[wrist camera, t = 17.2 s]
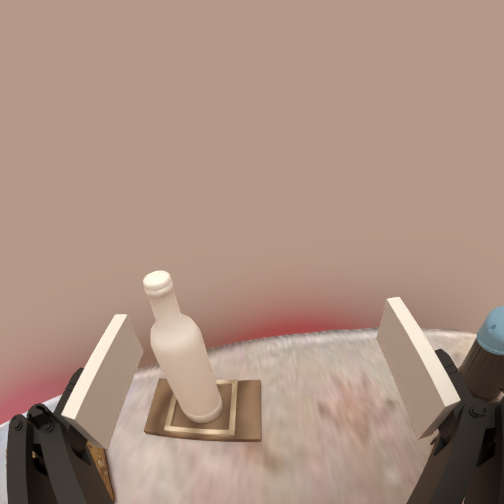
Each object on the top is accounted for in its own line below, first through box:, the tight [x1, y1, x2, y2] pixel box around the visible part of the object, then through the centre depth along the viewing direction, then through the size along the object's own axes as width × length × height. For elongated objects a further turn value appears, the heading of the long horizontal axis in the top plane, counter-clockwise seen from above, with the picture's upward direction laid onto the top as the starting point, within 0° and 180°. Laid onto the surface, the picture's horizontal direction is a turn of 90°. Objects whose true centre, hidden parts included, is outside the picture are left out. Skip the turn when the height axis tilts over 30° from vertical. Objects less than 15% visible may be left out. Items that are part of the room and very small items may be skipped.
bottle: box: [143, 271, 223, 424], centre depth 39 cm, size 8×8×30 cm
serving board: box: [144, 378, 261, 442], centre depth 46 cm, size 22×14×2 cm, turn 89°
